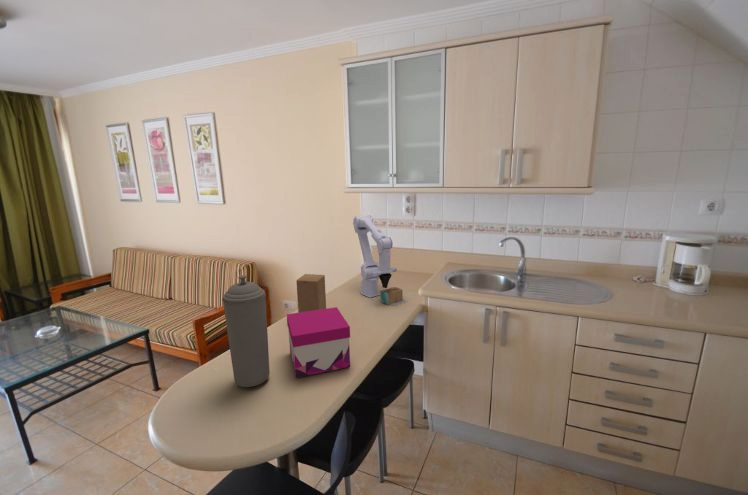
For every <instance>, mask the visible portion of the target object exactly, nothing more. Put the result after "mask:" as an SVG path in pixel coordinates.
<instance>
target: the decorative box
mask: <svg viewBox="0 0 748 495" xmlns="http://www.w3.org/2000/svg"><path fill="white" fill-rule="evenodd" d="M286 324H287V328H288V341H289V353H290V356H291V360H292V362H291V363H292V365H293V369H294V374H295V378H296V379H297V378H301V377H307V376H312V375H316V374H321V373H326V372H331V371H336V370H340V369H345V368H350V367H351V353H350V350H351V349H350V338H351V326H350V325H349V323H348V322H347V320H346V319H345V317H344V315H342V313H341V311H340V310H339V309H338V307H337V306H336V307H328V308H327V307H326V309H320V310H313V311H306V312H299V313H298V312H292V313H288V314H287V313H286Z"/></svg>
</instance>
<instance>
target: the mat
mask: <svg viewBox="0 0 748 495" xmlns="http://www.w3.org/2000/svg"><path fill="white" fill-rule="evenodd" d="M378 301H380V299H378ZM405 303H408V301H407V300H406V299H403V298H402V301H399V302H396V303H393V304H389V305H388V306H391V307H396V306H399V305H401V304H405Z"/></svg>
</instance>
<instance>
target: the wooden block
mask: <svg viewBox="0 0 748 495" xmlns="http://www.w3.org/2000/svg"><path fill="white" fill-rule="evenodd" d="M325 278H326V276H325V274H315V273H314V274H311V273H309V274H308V273H305V274H303V275H302V276H300V277H299V278H297V279H296V295H297V298H296V299H297V311H298V312H297V313H299V312H306V311H313V310H320V309H327V298H326V293H327V292H326V279H325Z"/></svg>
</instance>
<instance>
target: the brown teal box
mask: <svg viewBox="0 0 748 495" xmlns="http://www.w3.org/2000/svg"><path fill="white" fill-rule="evenodd" d="M403 292H404V291H403V289H401V288H400V287H397V286H392V287H389V288H384V289H382V290H380V291H379V293H380V295H379V297H380V300H379V301H380V302H381V303H382V304H385V305H387V306H390V305H389V304H393V303H396V302H399V301H402V299H403Z"/></svg>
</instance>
